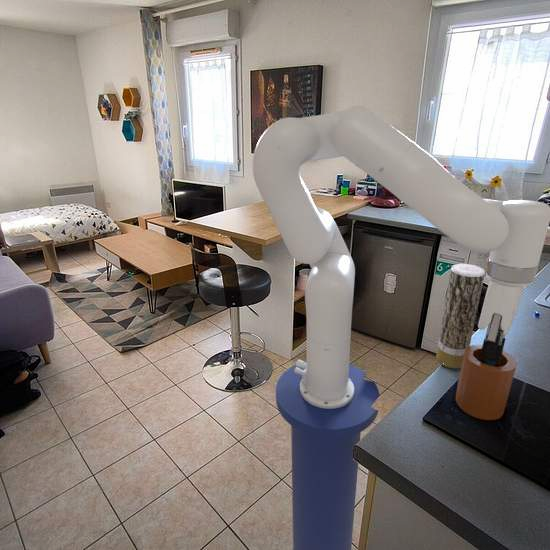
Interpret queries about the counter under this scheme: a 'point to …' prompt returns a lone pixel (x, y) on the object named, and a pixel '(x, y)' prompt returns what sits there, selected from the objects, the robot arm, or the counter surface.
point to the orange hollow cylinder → (484, 384)
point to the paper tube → (459, 313)
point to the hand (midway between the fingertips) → (490, 355)
